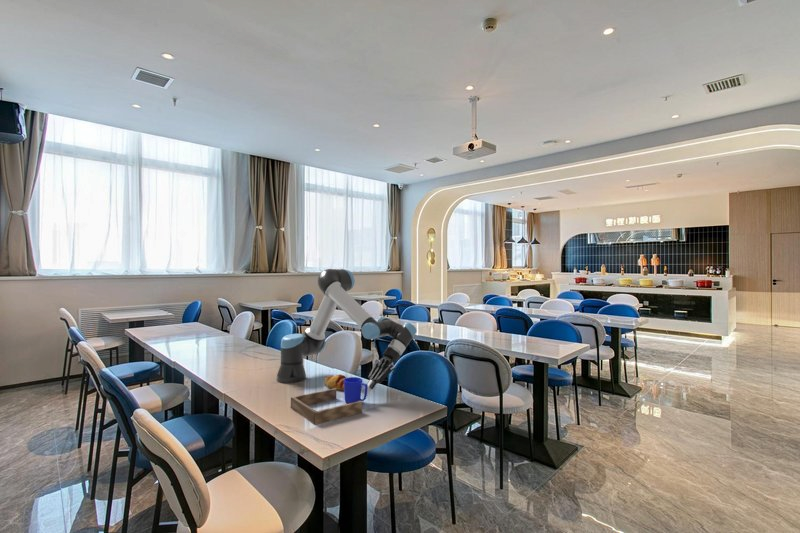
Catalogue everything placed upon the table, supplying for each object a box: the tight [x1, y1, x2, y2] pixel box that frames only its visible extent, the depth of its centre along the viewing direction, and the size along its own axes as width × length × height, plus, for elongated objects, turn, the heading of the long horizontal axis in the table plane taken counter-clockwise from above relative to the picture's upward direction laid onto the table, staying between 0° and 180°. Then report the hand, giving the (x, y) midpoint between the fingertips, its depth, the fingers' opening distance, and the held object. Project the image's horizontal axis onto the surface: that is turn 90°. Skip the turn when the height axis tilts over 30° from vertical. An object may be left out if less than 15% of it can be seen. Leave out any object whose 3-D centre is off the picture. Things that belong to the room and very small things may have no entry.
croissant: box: [324, 374, 347, 391], centre depth 191 cm, size 21×10×8 cm, turn 46°
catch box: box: [290, 388, 363, 425], centre depth 158 cm, size 21×22×4 cm
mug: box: [343, 376, 368, 404], centre depth 167 cm, size 8×12×10 cm
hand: (364, 393), depth 168 cm, fingers closed
